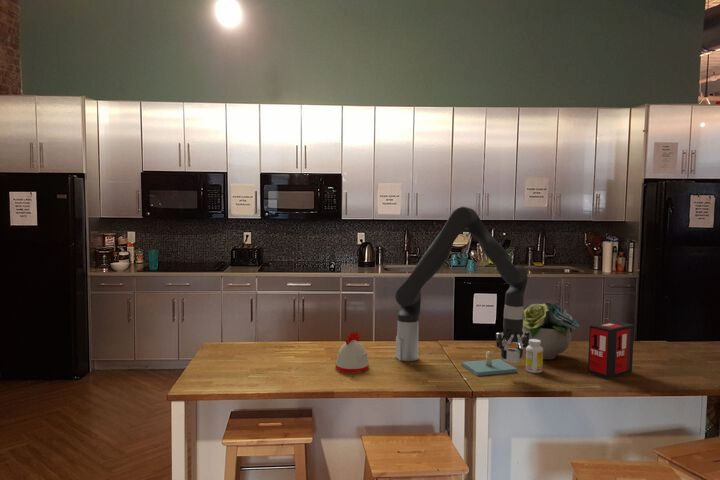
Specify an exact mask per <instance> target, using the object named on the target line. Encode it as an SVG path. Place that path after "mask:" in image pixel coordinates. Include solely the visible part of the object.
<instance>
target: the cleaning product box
mask: <svg viewBox="0 0 720 480" xmlns="http://www.w3.org/2000/svg"><path fill="white" fill-rule="evenodd" d="M588 336H589V337H588V338H589V340H588V356H587V357H588V361H587V374H589V373H590V374H589V375H592V374H593V375H592V376H595V377H599V378H602V379H605V380H611V379H614V378H618V377H621V376H625V375H628V374H632V373H633V360H634V359H633V355H634V338H635V324H633V323H632V324H631V323H627V322H623V321H617V320H610V321H606V322H605V321H604V322H600V323H594V324H589V335H588Z"/></svg>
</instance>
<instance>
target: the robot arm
mask: <svg viewBox="0 0 720 480" xmlns="http://www.w3.org/2000/svg"><path fill="white" fill-rule="evenodd" d="M464 230H465V231H467V232H468V233H469V234H470V235H472V237H473V238H474V240H476V242H478V244H479V247H480V249H481V250H482V252H483V253H484V254H485V256H486V257H487V258H488V259H489V261H491V263H492V264H493V265H494V266H495V268H496V270H497V271H498V273H499V275H500V277H501V278H502V279H503V280H504V282H505V283H506V284H508V285H509V286H508V289H507V290H506V292H505V296H504V307H503V321H502V322H503V323H502V327H503V331H502V332H496V333H495V341H496V342H495V343H496V348H498V349H500V356H501V357H500V358H502V360H503V359H506V355H507V350H506V349H507V348H509V346H510V345H511V343H515V344H516V347H517V348H516V349H518V350H520V359H521V358H522V357H523V350H524V349H525V348H526V347H527V346H528V340H529V335H530V333H528V332H526V331H524V332H523V331H522V329H523V316H524V310H525V309H524V299H525V292H526V287H527V284H528V283H527V282H528V272H527V269H526V268H525V267H524V266H523V265H514V264H513V263H512V262H511V255H510V254H509V253H508V252H507V250H506V249H505V248H504V247H503V246H502V245H501V244H500V243H499V242H498V240H496V239H495V237H494V236H493V235H492V234H491V232H490V231H489V229H487V228H486V225H484V223H483V222H482V220H481V218H480V217H479V215H478V213H477V211H475V209H473V208H470V207H467V206H458V207H456V208H454V209H453V211H452V212H451V213H450V215H449V217H448V219H447V220H446V222H445V223H444V225H443V227H442V229H441V230H440V232H439V233H438V234H437V236H436V237H435V239H434V240H433V241H432V243H431V244H430V245H429V247H428V248H427V249H426V250H425V252H424V253H423V255H422V256H421V258H420V259H419V261H418V262H417V263H416V265H415V267H414V269H412V272H411V273H410V275H409V276H408V277H407V278H406V280H405V281H403V283H402V284H401V285H400V286H399V287H398V288H397V290H396V292H395V297H394V298H395V301H396V303H397V304H398V305H399V306H400V309H399V311H398V312H397V313H398V314H397V335H396V336H395V358H396V359H397V360H398V361H400V362H403V361H404V362H414V361H417V360H418V359H419V320H420V319H419V317H420V312H421V304H422V303H421V302H422V299H421V298H422V297H421V296H422V295H421V289H422V288H423V287H424V285H426V283H427V282H428V281H429V280H431V278H432V277H434V276H435V275H436V274H437V273H438V272H439V270H441V268H442V267H443V266H444V264H445V263H446V262H447V260H448V259H449V256H450V254H451V252H452V247H453V245H454V243H455V241H456V240H457V238H458V237H459V236H460V234H461V233H462V232H463V231H464ZM521 336H523V338H522V337H521Z"/></svg>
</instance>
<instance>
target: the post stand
mask: <svg viewBox="0 0 720 480" xmlns="http://www.w3.org/2000/svg"><path fill="white" fill-rule="evenodd" d="M461 366H462V367H463V368H465V369H466V370H467V371H469V372H471V373H472V374H473V375H475V376H477V377H478V376H479V377H480V376H482V377H483V376H491V375H503V374H504V375H505V374H513V373H517V372H518V368H516V367H515V366H514V365H512V364H510V363H509V362H506V361H504V360H503V359H501V358H494V359H493V353H492V351H491V350H490V351H489V350H488V351H486V353H485V359H481V360H471V361H461Z"/></svg>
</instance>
